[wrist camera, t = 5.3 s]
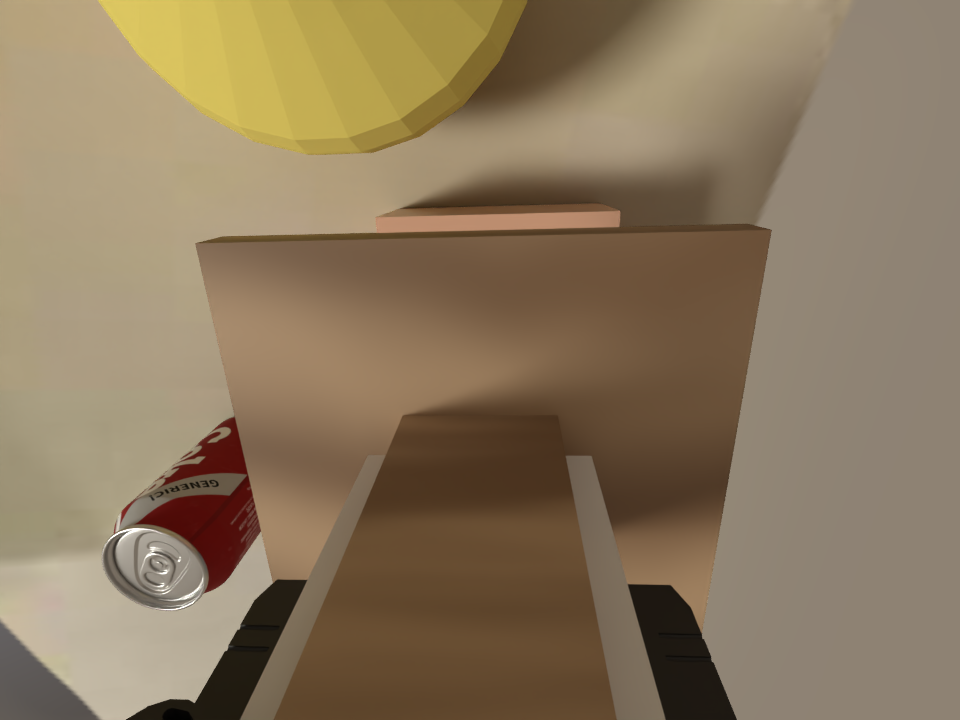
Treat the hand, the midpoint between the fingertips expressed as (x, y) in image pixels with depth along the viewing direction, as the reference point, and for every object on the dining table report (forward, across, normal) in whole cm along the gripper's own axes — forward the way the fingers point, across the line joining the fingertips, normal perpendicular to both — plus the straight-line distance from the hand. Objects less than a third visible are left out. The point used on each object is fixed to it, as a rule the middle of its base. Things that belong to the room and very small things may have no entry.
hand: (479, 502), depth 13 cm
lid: (+2, 0, 0) cm, 2 cm away
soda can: (+21, -18, -11) cm, 30 cm away
